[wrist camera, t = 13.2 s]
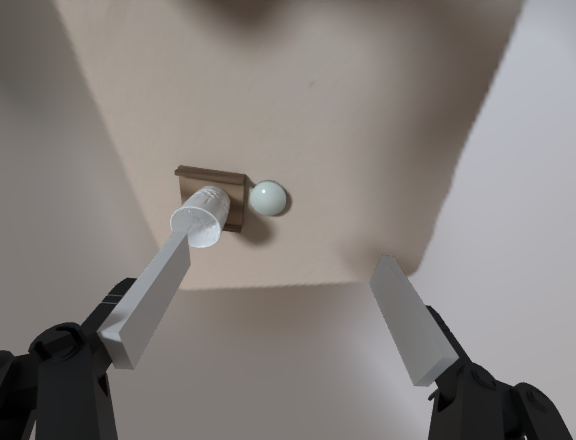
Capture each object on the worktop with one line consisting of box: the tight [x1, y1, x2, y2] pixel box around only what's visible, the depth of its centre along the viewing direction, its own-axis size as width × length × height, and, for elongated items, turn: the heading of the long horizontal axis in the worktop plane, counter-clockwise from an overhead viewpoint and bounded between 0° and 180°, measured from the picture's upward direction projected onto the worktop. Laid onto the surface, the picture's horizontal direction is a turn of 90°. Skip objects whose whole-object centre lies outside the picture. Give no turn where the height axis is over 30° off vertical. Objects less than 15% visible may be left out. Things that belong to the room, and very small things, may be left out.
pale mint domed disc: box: [251, 180, 286, 216], centre depth 43 cm, size 7×7×2 cm
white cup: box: [170, 186, 230, 248], centre depth 38 cm, size 8×8×10 cm
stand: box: [174, 165, 245, 233], centre depth 43 cm, size 12×12×3 cm
